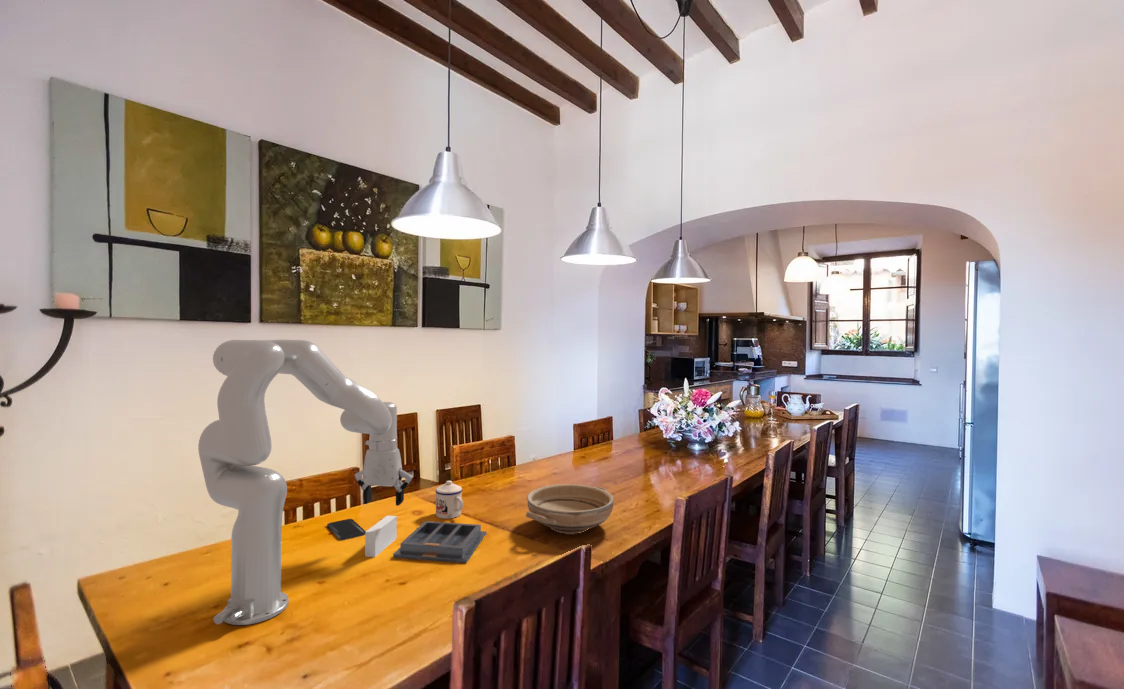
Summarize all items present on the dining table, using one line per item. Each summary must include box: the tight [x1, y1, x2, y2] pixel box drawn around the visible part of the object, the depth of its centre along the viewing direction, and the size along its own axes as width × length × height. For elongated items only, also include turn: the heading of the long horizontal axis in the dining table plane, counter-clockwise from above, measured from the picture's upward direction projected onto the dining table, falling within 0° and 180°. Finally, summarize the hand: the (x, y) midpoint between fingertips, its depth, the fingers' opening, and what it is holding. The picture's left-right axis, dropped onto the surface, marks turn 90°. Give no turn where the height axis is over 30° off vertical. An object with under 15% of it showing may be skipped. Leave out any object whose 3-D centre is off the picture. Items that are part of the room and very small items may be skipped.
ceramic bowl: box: [525, 483, 615, 535], centre depth 164 cm, size 37×29×10 cm
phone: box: [326, 518, 367, 541], centre depth 158 cm, size 8×1×15 cm
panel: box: [364, 515, 398, 558], centre depth 145 cm, size 13×3×7 cm, turn 173°
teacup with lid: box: [435, 480, 464, 520], centre depth 172 cm, size 12×9×12 cm
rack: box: [392, 520, 487, 564], centre depth 147 cm, size 20×21×4 cm
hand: (383, 503), depth 146 cm, fingers open, 9 cm apart
